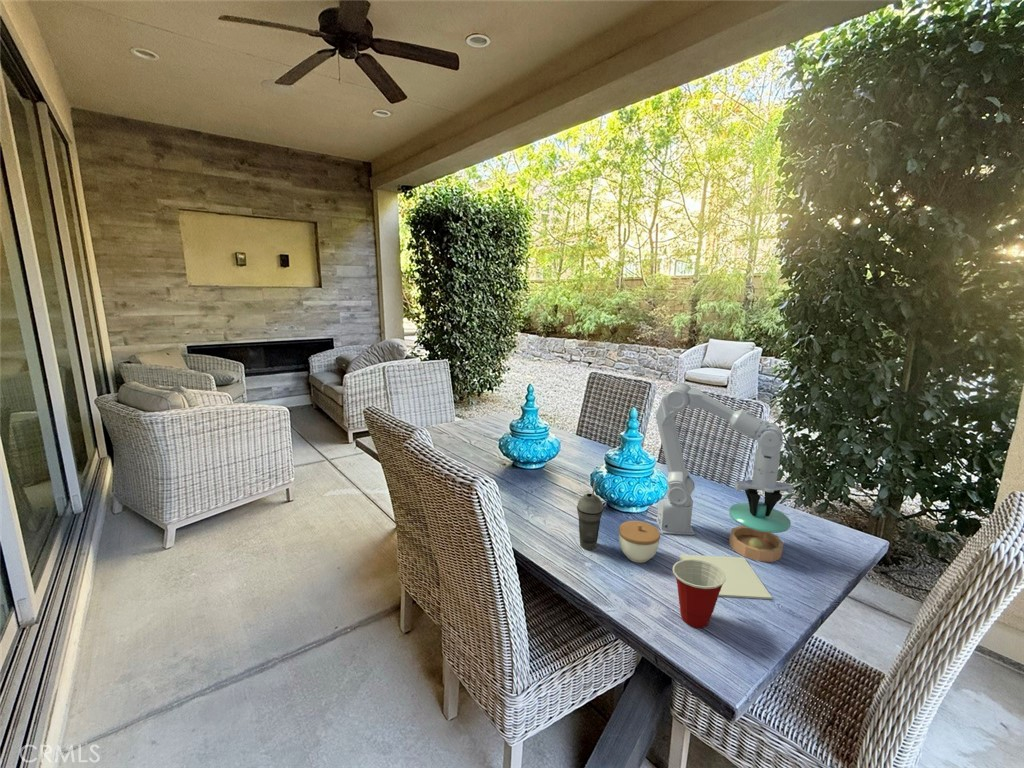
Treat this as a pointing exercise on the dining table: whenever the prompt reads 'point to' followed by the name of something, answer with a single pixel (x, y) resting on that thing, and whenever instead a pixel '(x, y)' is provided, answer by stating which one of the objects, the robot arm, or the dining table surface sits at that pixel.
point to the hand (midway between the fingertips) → (759, 514)
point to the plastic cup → (697, 590)
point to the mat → (735, 577)
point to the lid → (760, 518)
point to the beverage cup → (589, 519)
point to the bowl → (756, 544)
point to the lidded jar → (638, 540)
